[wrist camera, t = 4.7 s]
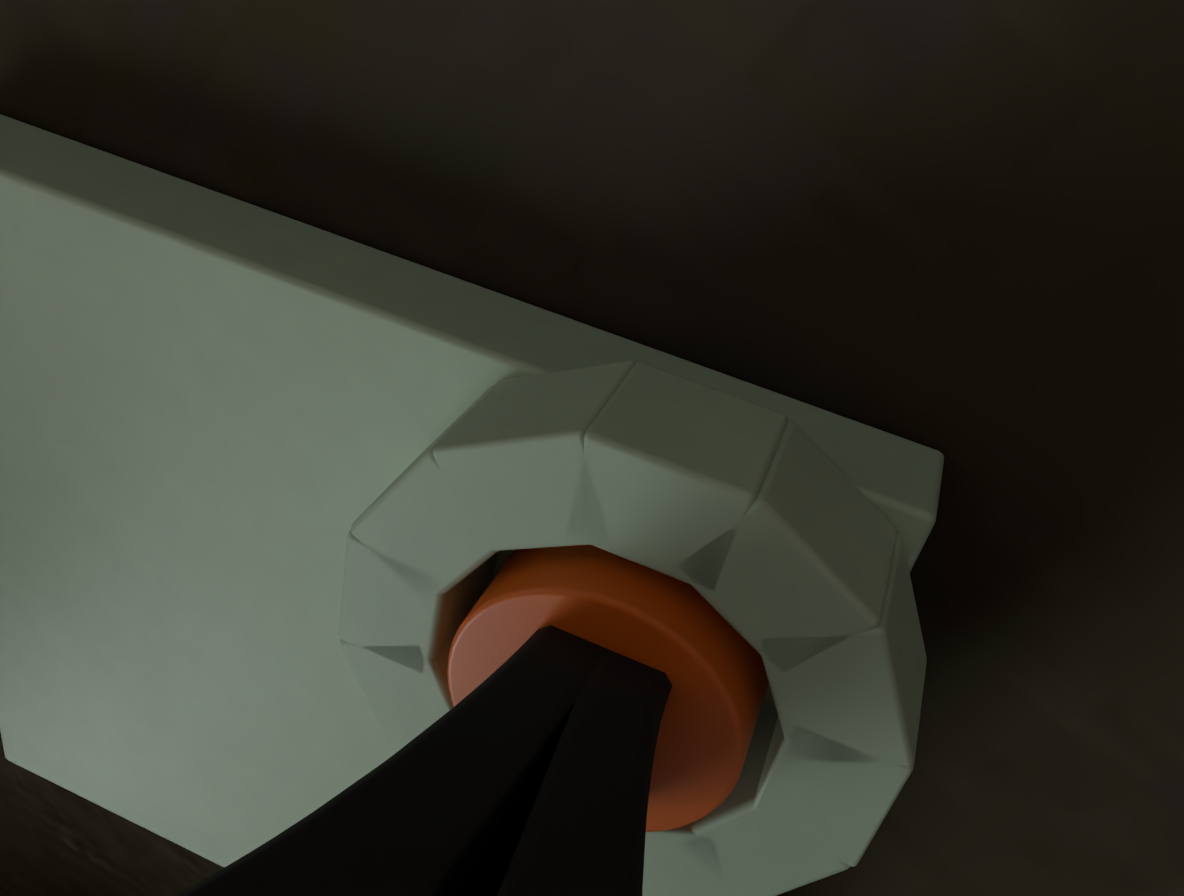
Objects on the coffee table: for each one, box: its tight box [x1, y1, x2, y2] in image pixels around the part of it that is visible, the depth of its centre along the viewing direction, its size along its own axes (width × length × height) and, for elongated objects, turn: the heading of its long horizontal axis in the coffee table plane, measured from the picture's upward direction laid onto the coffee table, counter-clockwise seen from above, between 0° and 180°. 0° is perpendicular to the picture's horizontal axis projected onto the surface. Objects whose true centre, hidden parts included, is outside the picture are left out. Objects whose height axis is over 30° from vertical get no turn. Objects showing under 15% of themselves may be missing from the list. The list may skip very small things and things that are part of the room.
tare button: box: [447, 545, 769, 832], centre depth 11 cm, size 3×3×2 cm
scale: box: [0, 114, 944, 896], centre depth 14 cm, size 14×13×3 cm
